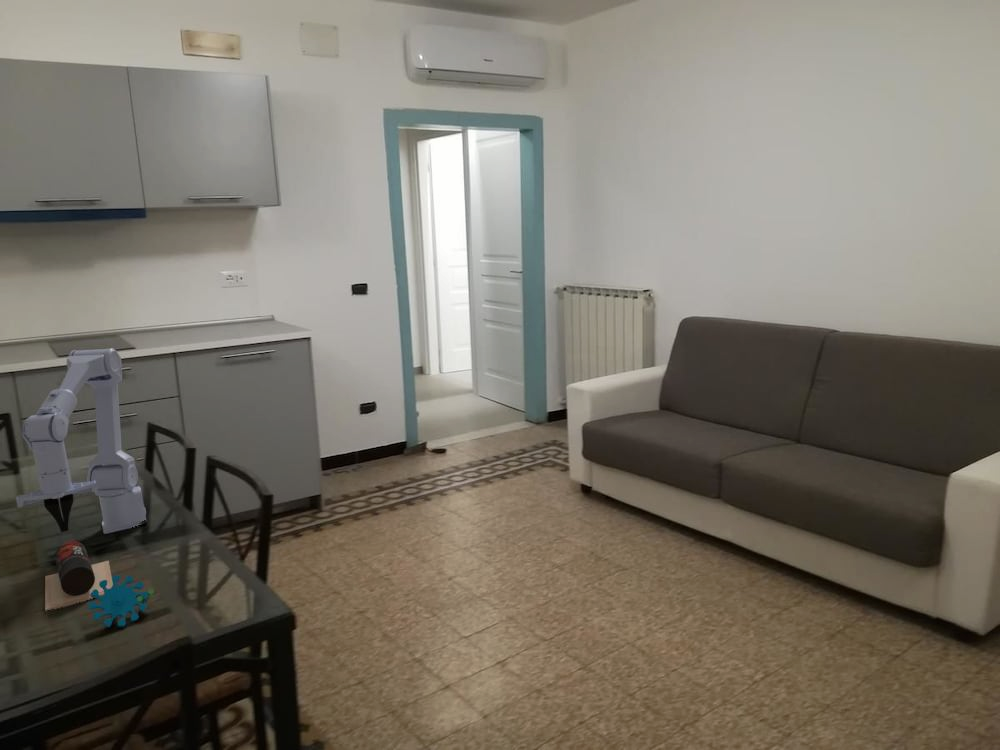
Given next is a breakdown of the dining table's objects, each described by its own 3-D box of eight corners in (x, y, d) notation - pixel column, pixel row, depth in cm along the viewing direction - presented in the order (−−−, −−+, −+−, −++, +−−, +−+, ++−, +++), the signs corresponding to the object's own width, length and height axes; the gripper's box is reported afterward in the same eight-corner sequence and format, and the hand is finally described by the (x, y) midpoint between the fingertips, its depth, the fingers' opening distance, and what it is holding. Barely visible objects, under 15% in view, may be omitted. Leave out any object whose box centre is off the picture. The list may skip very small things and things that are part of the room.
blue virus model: (91, 630, 132) (86, 578, 137) (89, 641, 136) (84, 590, 141) (158, 617, 139) (151, 567, 143) (154, 628, 143) (147, 579, 147)
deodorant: (55, 570, 157) (61, 598, 145) (54, 543, 156) (60, 570, 144) (86, 564, 161) (95, 592, 149) (85, 539, 160) (94, 564, 148)
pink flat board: (109, 562, 162) (108, 560, 162) (114, 593, 148) (114, 590, 148) (45, 578, 156) (45, 575, 156) (45, 611, 143) (45, 609, 142)
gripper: (11, 483, 147) (24, 545, 150) (93, 467, 154) (103, 527, 157) (12, 473, 153) (25, 533, 156) (91, 458, 160) (101, 516, 163)
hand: (64, 529), depth 157 cm, fingers closed
